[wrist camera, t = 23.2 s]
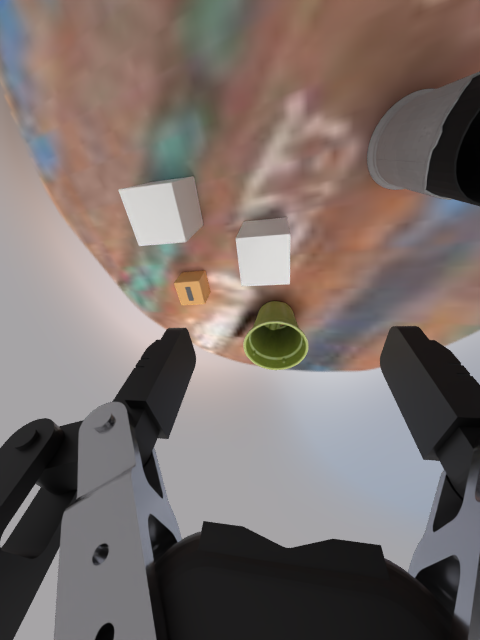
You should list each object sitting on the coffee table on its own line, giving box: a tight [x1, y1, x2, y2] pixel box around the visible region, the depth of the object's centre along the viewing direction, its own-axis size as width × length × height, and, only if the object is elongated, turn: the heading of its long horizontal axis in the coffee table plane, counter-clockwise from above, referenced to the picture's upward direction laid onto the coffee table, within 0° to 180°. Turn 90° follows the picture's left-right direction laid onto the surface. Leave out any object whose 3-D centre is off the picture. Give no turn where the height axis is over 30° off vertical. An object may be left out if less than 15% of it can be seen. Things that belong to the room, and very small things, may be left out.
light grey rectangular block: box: [236, 217, 290, 286], centre depth 30 cm, size 6×6×8 cm
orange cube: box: [174, 270, 210, 305], centre depth 37 cm, size 4×4×4 cm
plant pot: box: [244, 301, 308, 370], centre depth 37 cm, size 9×9×9 cm
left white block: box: [119, 176, 203, 246], centre depth 29 cm, size 6×6×8 cm
